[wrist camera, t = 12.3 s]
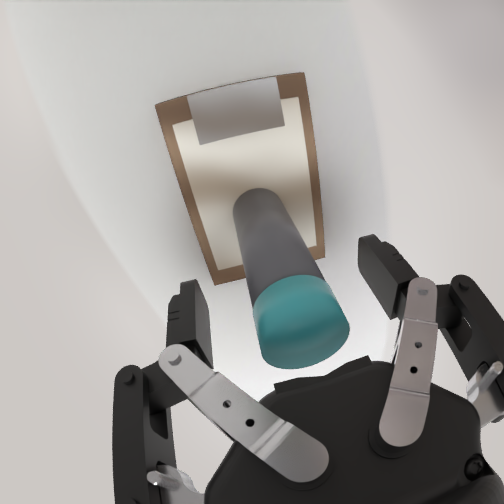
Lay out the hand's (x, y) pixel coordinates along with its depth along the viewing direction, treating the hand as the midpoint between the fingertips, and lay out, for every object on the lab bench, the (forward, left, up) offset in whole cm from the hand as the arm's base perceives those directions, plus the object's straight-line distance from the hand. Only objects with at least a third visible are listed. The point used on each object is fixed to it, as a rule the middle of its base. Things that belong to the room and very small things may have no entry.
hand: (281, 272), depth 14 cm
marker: (0, 0, -7) cm, 7 cm away
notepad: (-1, 0, -8) cm, 8 cm away
